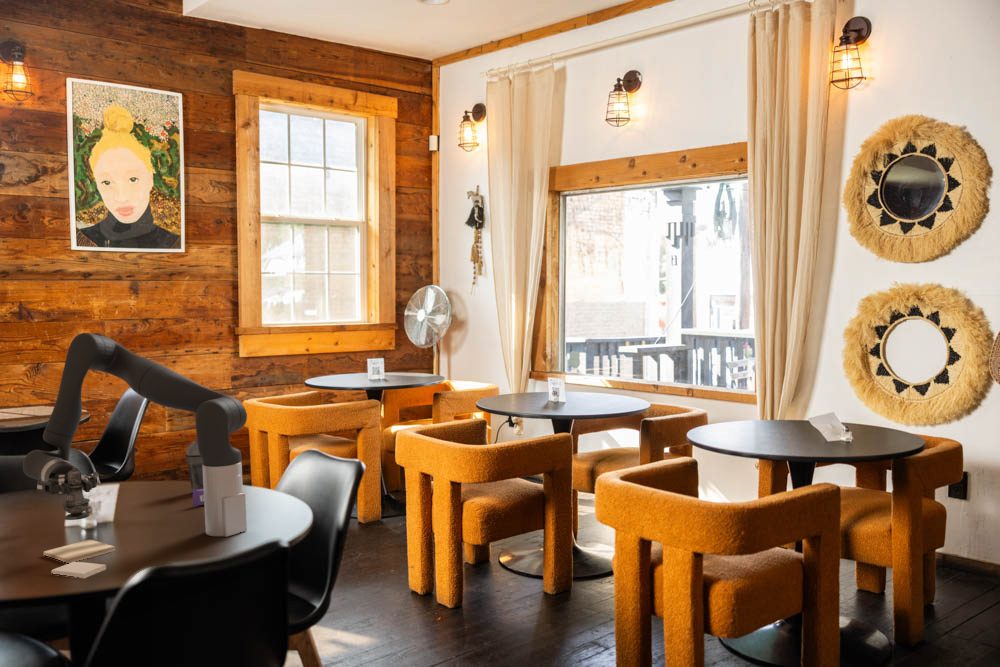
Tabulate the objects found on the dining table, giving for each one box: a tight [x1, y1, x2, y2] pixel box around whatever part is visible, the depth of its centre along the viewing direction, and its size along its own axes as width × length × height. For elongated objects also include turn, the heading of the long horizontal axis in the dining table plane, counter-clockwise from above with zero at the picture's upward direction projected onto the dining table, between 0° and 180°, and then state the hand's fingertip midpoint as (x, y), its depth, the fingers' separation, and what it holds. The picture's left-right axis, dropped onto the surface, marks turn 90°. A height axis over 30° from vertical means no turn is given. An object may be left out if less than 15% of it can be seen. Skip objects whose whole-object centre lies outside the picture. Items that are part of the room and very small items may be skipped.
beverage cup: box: [185, 440, 204, 491], centre depth 257 cm, size 7×7×20 cm
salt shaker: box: [61, 465, 91, 521], centre depth 200 cm, size 6×6×12 cm
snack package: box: [191, 489, 204, 508], centre depth 245 cm, size 12×2×5 cm, turn 139°
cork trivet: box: [43, 539, 116, 564], centre depth 201 cm, size 11×11×1 cm
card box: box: [51, 561, 107, 579], centre depth 187 cm, size 9×6×2 cm, turn 70°
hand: (78, 489), depth 198 cm, fingers closed on salt shaker, 3 cm apart
